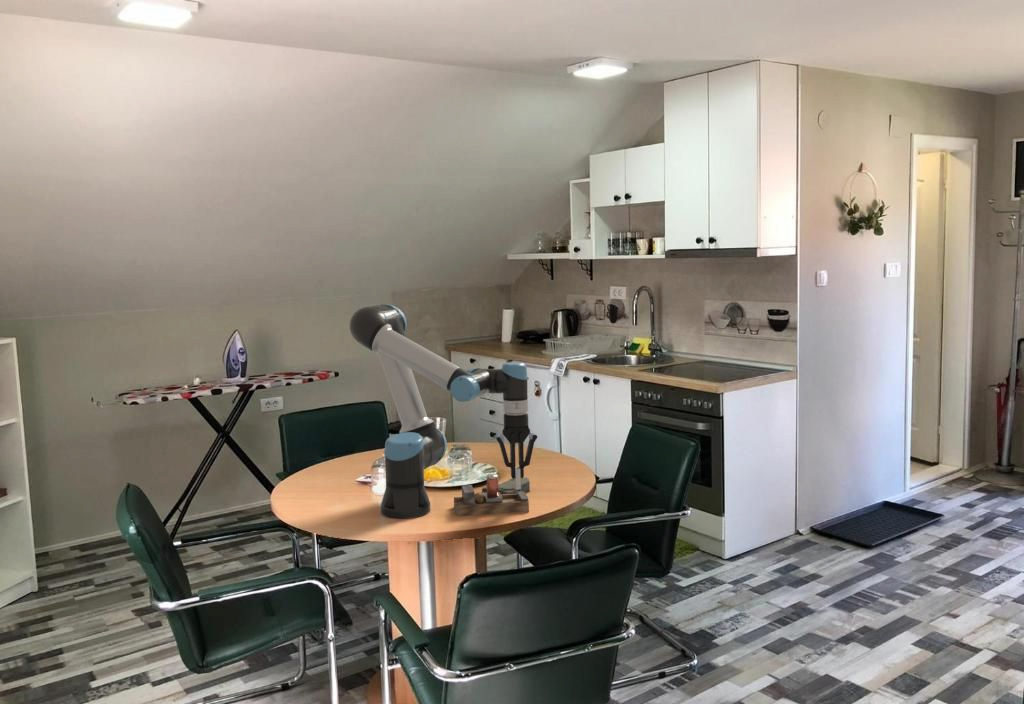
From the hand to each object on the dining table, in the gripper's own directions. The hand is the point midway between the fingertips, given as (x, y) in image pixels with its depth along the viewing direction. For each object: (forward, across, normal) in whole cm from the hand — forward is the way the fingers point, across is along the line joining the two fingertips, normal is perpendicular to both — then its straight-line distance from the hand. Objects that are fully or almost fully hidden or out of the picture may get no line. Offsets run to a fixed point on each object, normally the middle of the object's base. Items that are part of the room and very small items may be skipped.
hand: (517, 488), depth 259 cm
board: (+6, -8, 0) cm, 11 cm away
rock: (+7, -1, +19) cm, 20 cm away
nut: (+4, -12, 0) cm, 13 cm away
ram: (+4, -8, 0) cm, 9 cm away
